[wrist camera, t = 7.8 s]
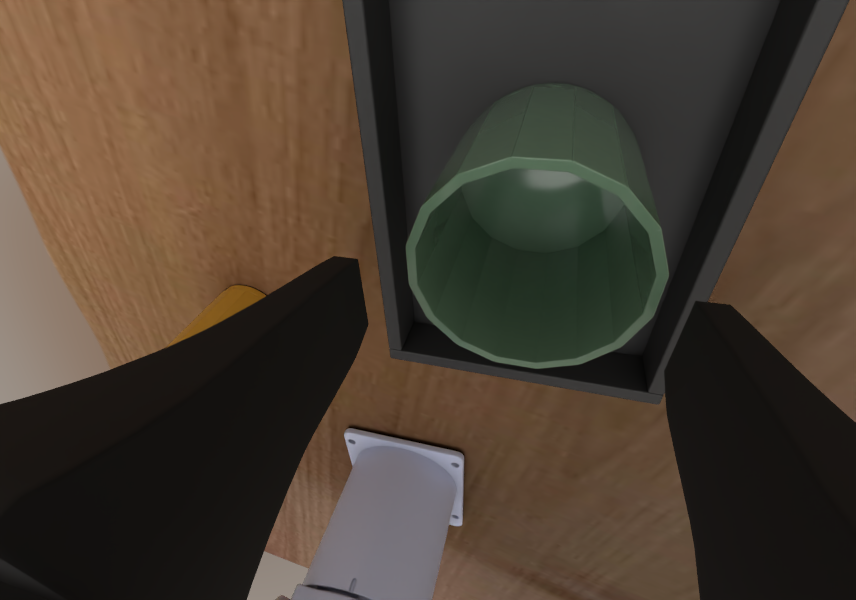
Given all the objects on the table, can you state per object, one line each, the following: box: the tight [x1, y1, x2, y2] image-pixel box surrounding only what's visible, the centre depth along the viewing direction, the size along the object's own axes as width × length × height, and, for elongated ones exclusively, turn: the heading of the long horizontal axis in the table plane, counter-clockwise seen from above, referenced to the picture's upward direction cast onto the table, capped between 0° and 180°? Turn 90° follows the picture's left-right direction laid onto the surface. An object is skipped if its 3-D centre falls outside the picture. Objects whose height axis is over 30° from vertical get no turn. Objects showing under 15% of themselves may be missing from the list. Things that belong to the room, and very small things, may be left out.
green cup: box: [406, 83, 669, 369], centre depth 13 cm, size 6×6×6 cm
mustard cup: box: [166, 285, 266, 348], centre depth 22 cm, size 4×4×6 cm
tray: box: [342, 0, 849, 404], centre depth 14 cm, size 16×11×2 cm
